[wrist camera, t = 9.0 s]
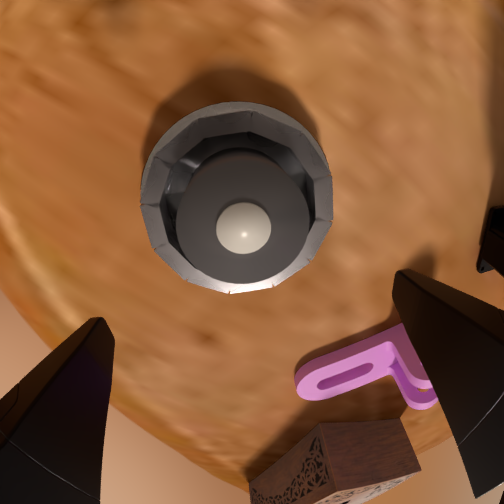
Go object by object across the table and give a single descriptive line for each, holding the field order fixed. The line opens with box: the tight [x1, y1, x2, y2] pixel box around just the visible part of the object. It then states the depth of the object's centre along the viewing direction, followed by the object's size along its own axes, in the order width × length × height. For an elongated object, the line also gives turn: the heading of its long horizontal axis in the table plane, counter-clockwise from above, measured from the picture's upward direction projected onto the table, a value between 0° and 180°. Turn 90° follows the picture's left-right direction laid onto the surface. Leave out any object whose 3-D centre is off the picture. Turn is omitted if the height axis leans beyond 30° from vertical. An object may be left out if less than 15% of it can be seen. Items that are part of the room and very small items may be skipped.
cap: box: [176, 147, 310, 284], centre depth 15 cm, size 6×6×4 cm
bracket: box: [294, 323, 438, 410], centre depth 22 cm, size 13×6×7 cm, turn 110°
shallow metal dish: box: [140, 101, 333, 294], centre depth 16 cm, size 11×11×2 cm
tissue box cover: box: [249, 418, 421, 504], centre depth 34 cm, size 26×14×10 cm, turn 160°
